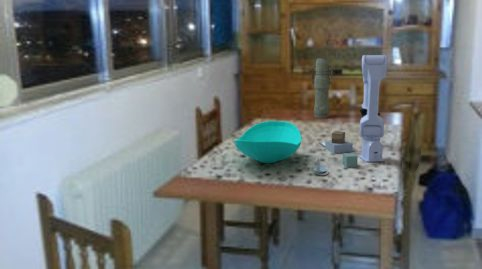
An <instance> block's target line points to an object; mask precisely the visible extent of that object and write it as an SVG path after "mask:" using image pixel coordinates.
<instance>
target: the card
mask: <svg viewBox="0 0 482 269" xmlns="http://www.w3.org/2000/svg"><path fill="white" fill-rule="evenodd" d="M318 144H319V145H320V146H321V147H322V148H325V141H321V142H320V141H319V142H318Z"/></svg>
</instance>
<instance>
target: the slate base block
mask: <svg viewBox="0 0 482 269" xmlns="http://www.w3.org/2000/svg"><path fill="white" fill-rule="evenodd" d="M324 142H325V147H324V148H325V149H326V150H327V151H329V152H330V153H332V154H341V153H342V154H344V153H353V142H350V141H348V140H346V139H345V142H344V143H342V144H337V143H332V139H331V140H325V141H324Z"/></svg>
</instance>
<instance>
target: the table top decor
mask: <svg viewBox="0 0 482 269" xmlns="http://www.w3.org/2000/svg"><path fill="white" fill-rule="evenodd" d="M302 140H303V139H302V134H301V131H300V129H299V128H298V127H297V126H296V125H295V124H294V123H292V122H288V121H285V120H283V121H282V120H281V121H280V120H268V121H262V122H259V123H256V124H254V125H252V126H251V127H250V128H248V129H247V130H245V132H244V133H243V134H242V135H241V136H239V137H238V138H236V139H235V140H234V141H233V142H234V146H235V147H236V149H237V150H238V151H239V152H241V153H242V154H243V155H244V156H246V157H249V158H251V159H253V160H255V161H258V162H259V163H264V164H272V163H276V162H281V161H283V160H285V159H287V158H290V157H291V156H292V155H293V154H295V153H296V152H297V151H298V149H299V148H300V147H301V144H302V143H301V142H302Z"/></svg>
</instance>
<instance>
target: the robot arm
mask: <svg viewBox="0 0 482 269" xmlns="http://www.w3.org/2000/svg"><path fill="white" fill-rule="evenodd" d="M387 70H388V56H387V54H380V55H379V54H374V55H372V54H363V55H362V58H361V73H362V78H363V79H362V80H363V103H361V108H360V109H359V112H360V114H361V118H360V121H359V136H360V138H362V139H361V140H362V142H361V143H362V146H361V147H362V148H361V154H358V158H360V159H362V160H363V161H364V162H366V163H369V162H371V163H372V162H384V161H385V159H384V158H383V154H384V153H383V151H384V148H383V144H382V142H381V139H382V138H383V137H384V135H385V121H384V119H383V118H382V117H381V116H380V115H381V113H380V112H379V100H380V99H379V98H380V85H381V82H382V80H383V79H384V78H386V76H387V74H388V71H387Z"/></svg>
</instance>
